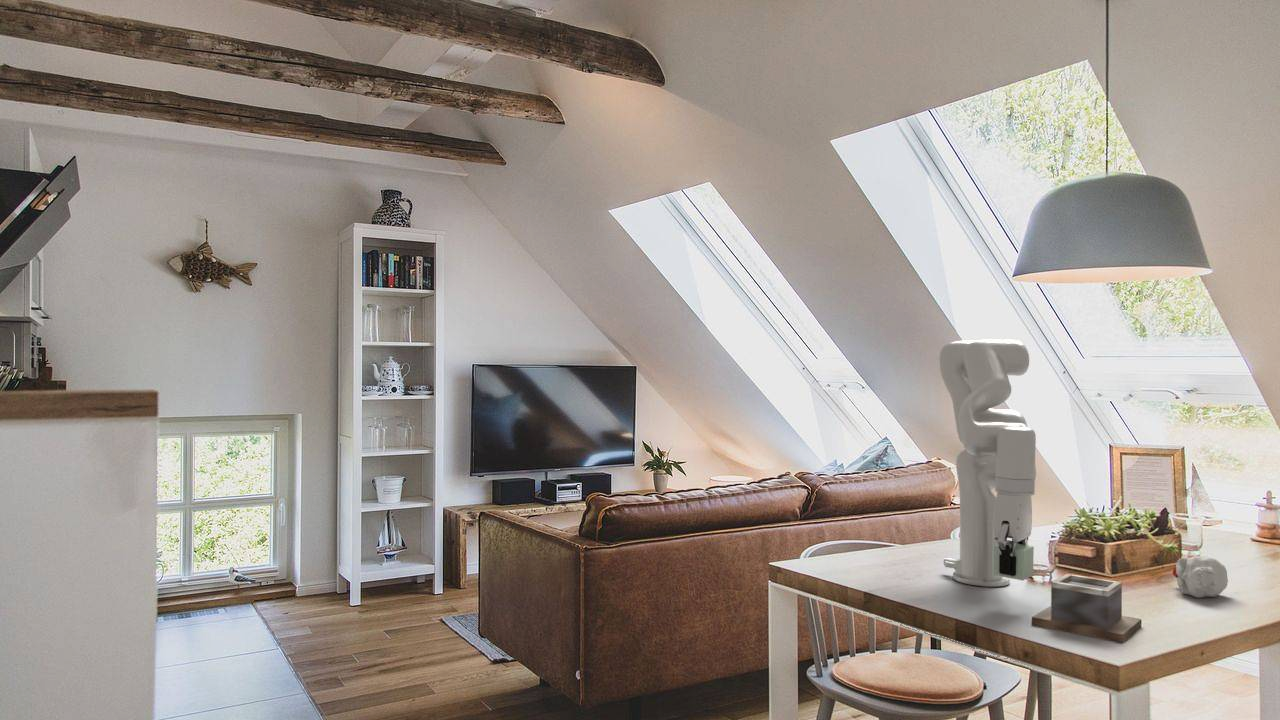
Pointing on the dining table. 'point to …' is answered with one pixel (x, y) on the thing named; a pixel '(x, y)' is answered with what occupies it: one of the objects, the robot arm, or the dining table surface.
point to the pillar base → (1089, 630)
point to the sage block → (1017, 562)
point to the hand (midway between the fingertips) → (1013, 570)
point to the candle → (1200, 576)
